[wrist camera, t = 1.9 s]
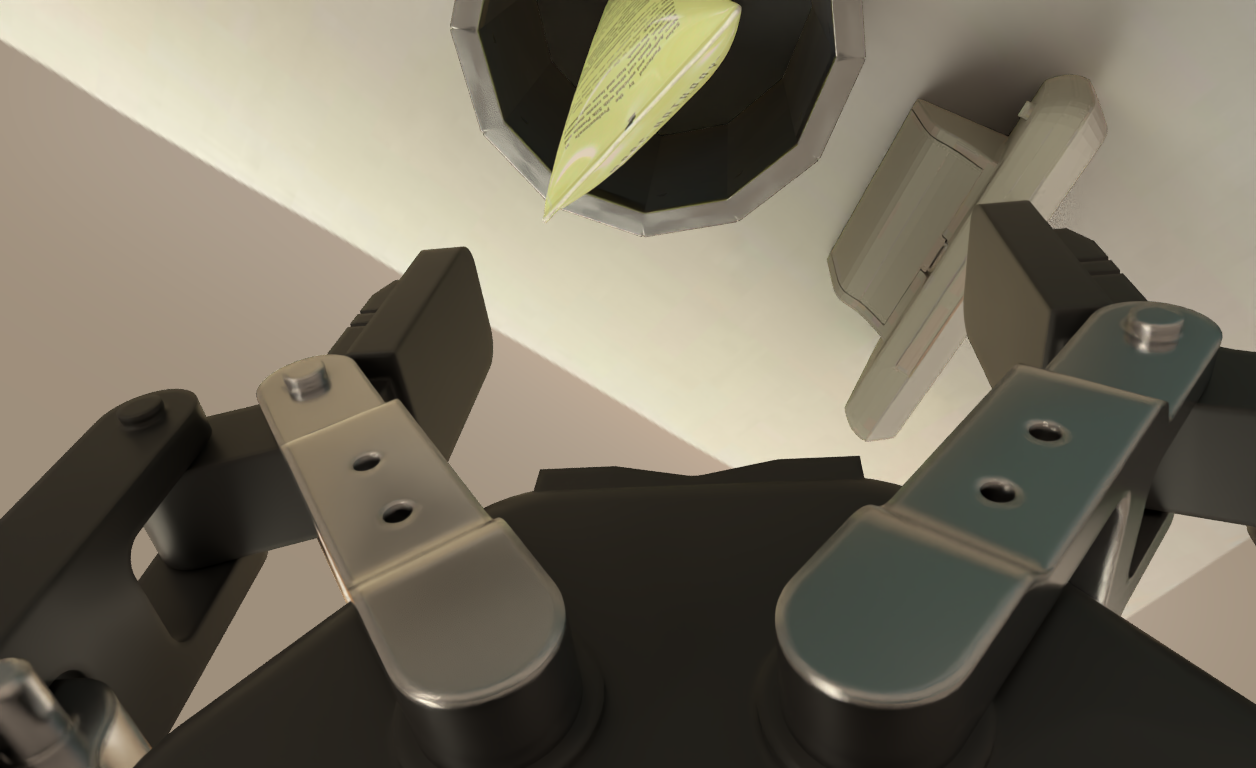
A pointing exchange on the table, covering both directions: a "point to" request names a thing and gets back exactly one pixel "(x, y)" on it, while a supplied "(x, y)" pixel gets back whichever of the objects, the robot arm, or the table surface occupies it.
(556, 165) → the yellow elongated tapered cylinder
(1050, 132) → the digital clock
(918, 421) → the table surface
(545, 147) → the pail
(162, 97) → the table surface
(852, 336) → the table surface
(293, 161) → the table surface
